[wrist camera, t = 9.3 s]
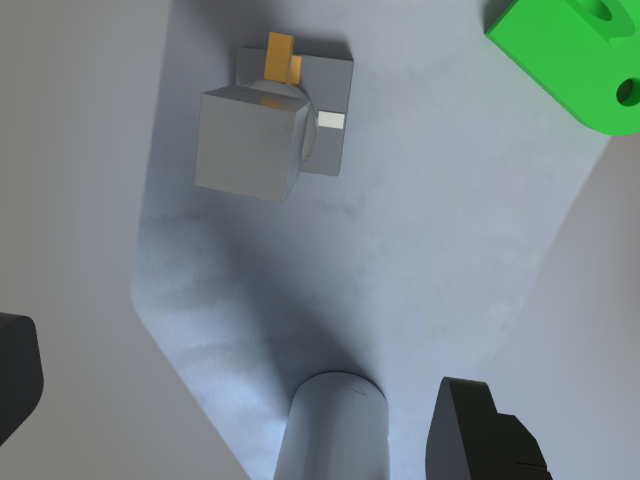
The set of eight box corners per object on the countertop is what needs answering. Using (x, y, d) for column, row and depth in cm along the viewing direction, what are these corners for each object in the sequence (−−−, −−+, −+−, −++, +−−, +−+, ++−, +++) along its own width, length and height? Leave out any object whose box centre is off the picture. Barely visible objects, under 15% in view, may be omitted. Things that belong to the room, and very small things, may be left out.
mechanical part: (483, 34, 32) (514, 31, 24) (554, -49, 30) (612, -79, 22) (606, 147, 34) (669, 176, 26) (682, 78, 31) (774, 88, 24)
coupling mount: (339, 171, 36) (330, 199, 30) (237, 157, 37) (207, 181, 30) (353, 60, 33) (347, 64, 27) (242, 46, 34) (210, 47, 27)
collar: (334, 44, 26) (321, 44, 20) (309, 181, 29) (291, 217, 23) (236, 24, 26) (193, 19, 20) (222, 163, 30) (181, 194, 23)
